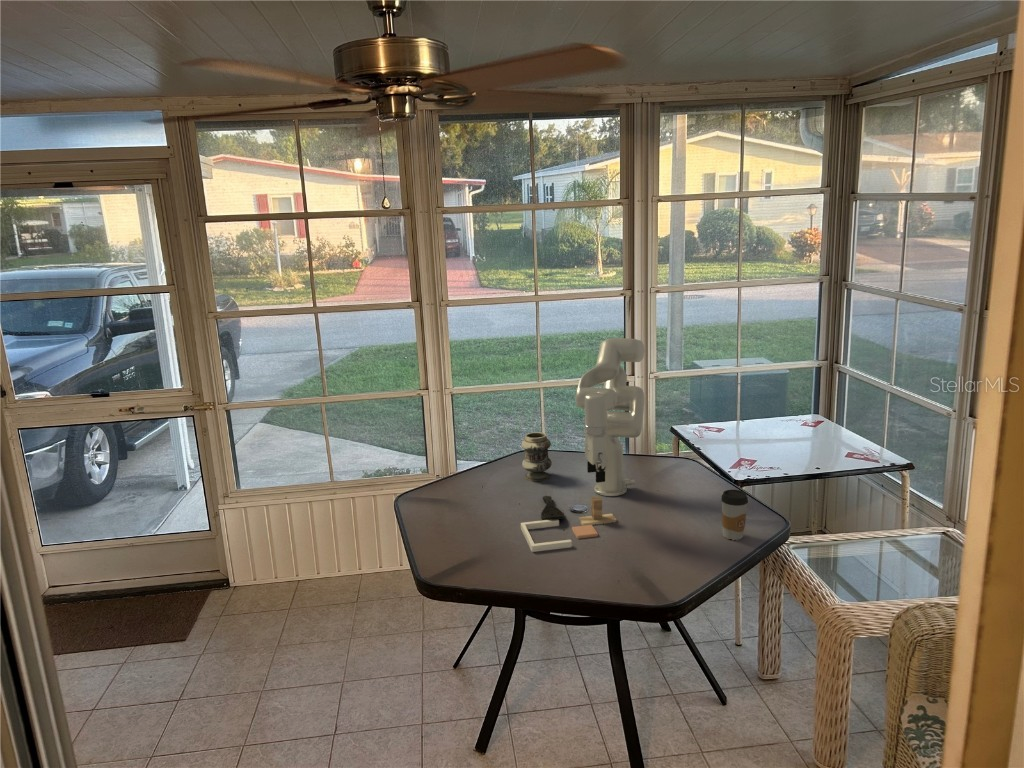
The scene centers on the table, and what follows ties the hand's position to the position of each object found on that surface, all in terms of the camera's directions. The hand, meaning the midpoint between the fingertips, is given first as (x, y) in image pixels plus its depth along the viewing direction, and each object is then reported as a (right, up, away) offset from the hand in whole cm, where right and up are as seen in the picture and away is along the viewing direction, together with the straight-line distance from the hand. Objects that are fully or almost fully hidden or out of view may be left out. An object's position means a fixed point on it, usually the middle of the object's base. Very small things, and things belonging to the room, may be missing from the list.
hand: (596, 476), depth 244 cm
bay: (-17, -19, -8) cm, 27 cm away
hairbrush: (-15, -14, +12) cm, 24 cm away
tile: (-5, -19, -6) cm, 20 cm away
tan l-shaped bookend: (+1, -16, +4) cm, 16 cm away
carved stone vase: (-19, -6, +46) cm, 50 cm away
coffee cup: (+43, -18, -12) cm, 49 cm away
